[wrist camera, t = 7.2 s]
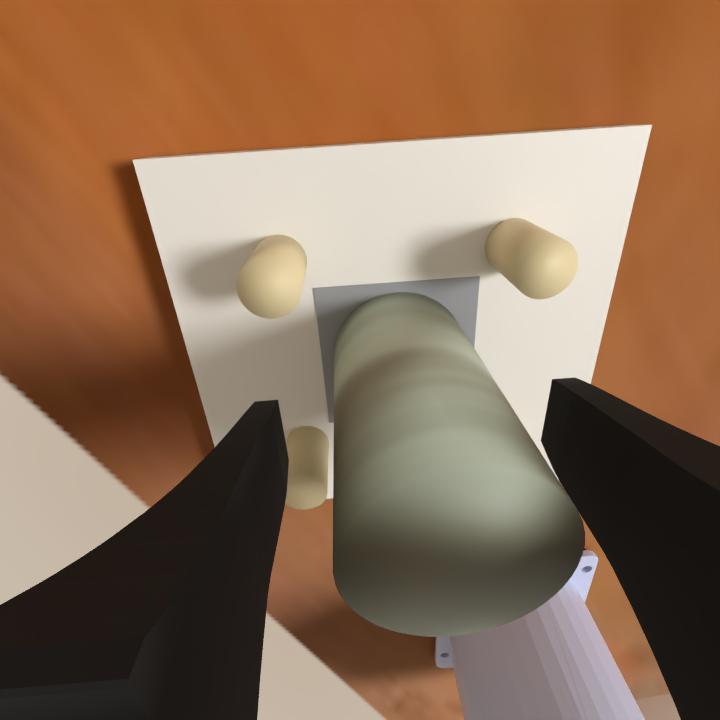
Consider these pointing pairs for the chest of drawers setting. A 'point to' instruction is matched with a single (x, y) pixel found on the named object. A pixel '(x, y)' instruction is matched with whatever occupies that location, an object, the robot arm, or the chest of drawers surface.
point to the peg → (438, 481)
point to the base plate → (390, 263)
